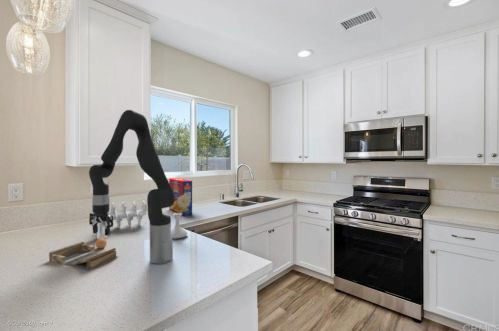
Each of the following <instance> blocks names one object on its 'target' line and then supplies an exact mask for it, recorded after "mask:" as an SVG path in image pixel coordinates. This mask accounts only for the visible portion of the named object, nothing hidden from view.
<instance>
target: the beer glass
mask: <svg viewBox="0 0 499 331" xmlns="http://www.w3.org/2000/svg"><path fill="white" fill-rule="evenodd" d="M109 214H110V211H109V212H108V216H109ZM106 225H107V224H106ZM109 235H110V234H109ZM109 235H107V236H105V227H104V225H102V223H98V232H97V233H96V239H97V240H98V239H101V238H103V239H105V240H107V238H109Z"/></svg>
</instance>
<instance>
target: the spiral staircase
mask: <svg viewBox="0 0 499 331" xmlns="http://www.w3.org/2000/svg"><path fill="white" fill-rule="evenodd" d="M120 207H121V209H120V212H117V210H116V206H115V202H112V203H111V207H110V209H111V210H110V211H111V212H110V213H109V216H110V215H113V221H115V222H116V223H117V224H116V226H117V227H118V229H121V225H122V224H121V223H122V222H121V221H123V219H126V220H127V225H128V227H129V229H131V228H132V227H131V226H132V221H133V220H134V218H136V219H137V224H138V226H139V227H141V223H142V222H141V220H143V217H144V216H146V215H147V213H148V205H147V204H146V201H145V200H142V201H141V204H140V209H138V208H137V204H136V201H135V200H134V201H132V203H131V208H130V209H131V210H130V211H128V210H127V206H126V204H125V201H122V202H121V206H120Z"/></svg>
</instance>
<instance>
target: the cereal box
mask: <svg viewBox="0 0 499 331" xmlns="http://www.w3.org/2000/svg"><path fill="white" fill-rule="evenodd" d="M168 179H169V180H168V182H169V184H170V186H171V188H172V190H173V193H174V196H175V202H174V204H173V205H172V206H170V207H168V208H169V209H168V210H169V211H170V212H173V213H174V214H175V213H181V214H182V215H181V216H182V217H187V216H192V215H193V180H190V179H184V178H179V177H175V178H173V177H172V178H171V177H170V178H168ZM182 195H185V196H187V197H188V198H189V200H190V205H189V206H188V207H187V206H186V208H187V209H188V211H185V212H184V211H182V209H181V208H183V207H179V205H178V204H177V200H178V197H180V196H182ZM174 209H175V210H178V211H180V210H181V211H180V212H178V211H175V210H174ZM181 216H180V217H181Z"/></svg>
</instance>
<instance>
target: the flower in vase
mask: <svg viewBox="0 0 499 331" xmlns="http://www.w3.org/2000/svg"><path fill="white" fill-rule="evenodd" d="M177 204H178V205H179V207H183V208H181V209H182V211H184V212H185V211H188V209H187V208H186V206H187V207H188V206H189V205H190V200H189V198H188V197H187V196H185V195H182V196H180V197H178V200H177ZM174 210H175V209H174ZM175 211H178V210H175ZM180 211H181V210H180ZM180 211H178V212H180ZM172 215H173V217H174V219H175V225H174V226H173V228H172V229H171V239H182V238H185V237H187V236H188V232H187V230H185V229H184V228H183V227H182V226H180V225H181V224H180V219H181V215H182V214H181V213H175V212H174V213H173V214H172Z"/></svg>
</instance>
